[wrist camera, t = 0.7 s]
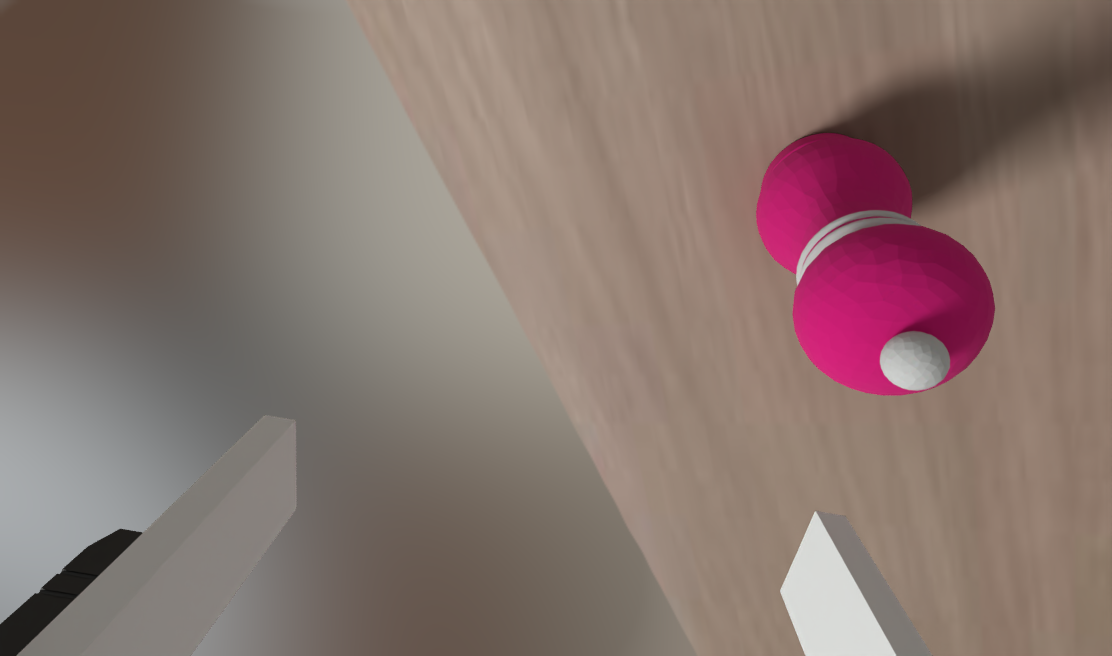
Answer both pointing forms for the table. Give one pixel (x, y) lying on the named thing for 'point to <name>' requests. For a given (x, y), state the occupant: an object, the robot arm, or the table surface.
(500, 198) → the table surface
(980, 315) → the pepper mill
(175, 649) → the robot arm
